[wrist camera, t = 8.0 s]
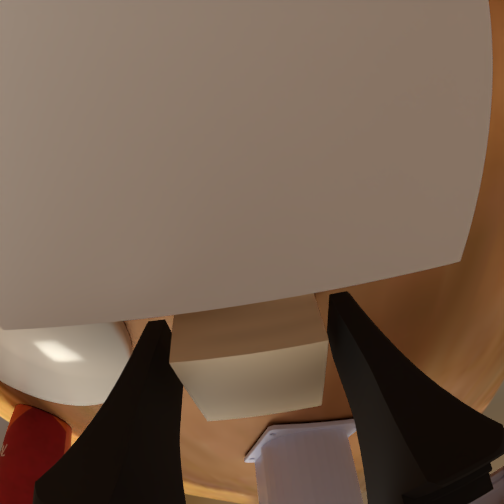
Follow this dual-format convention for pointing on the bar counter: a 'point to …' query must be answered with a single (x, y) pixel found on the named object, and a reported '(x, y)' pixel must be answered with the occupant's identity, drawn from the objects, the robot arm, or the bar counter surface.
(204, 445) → the bar counter surface
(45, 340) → the ceramic dish
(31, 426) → the paper cup
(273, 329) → the maple block
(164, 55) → the grey open box
